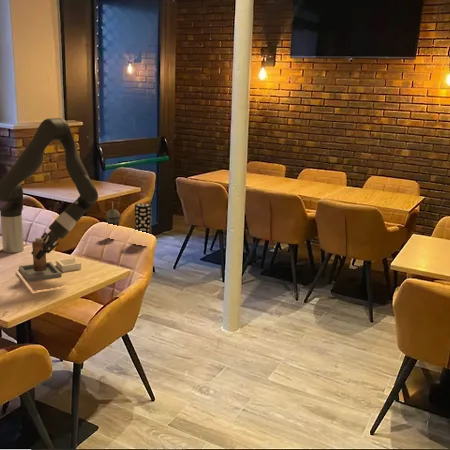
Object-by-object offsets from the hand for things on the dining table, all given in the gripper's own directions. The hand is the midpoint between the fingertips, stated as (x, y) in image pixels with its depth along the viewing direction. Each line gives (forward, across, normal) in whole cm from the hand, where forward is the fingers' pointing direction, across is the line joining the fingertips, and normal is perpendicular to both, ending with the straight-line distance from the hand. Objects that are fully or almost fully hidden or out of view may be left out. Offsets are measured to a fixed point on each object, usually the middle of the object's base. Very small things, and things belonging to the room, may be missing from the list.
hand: (34, 256), depth 210 cm
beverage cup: (-29, -40, +41) cm, 64 cm away
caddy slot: (-4, -2, +16) cm, 17 cm away
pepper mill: (+3, 0, +6) cm, 6 cm away
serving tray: (+5, 0, +7) cm, 9 cm away
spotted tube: (-36, -25, +48) cm, 65 cm away
